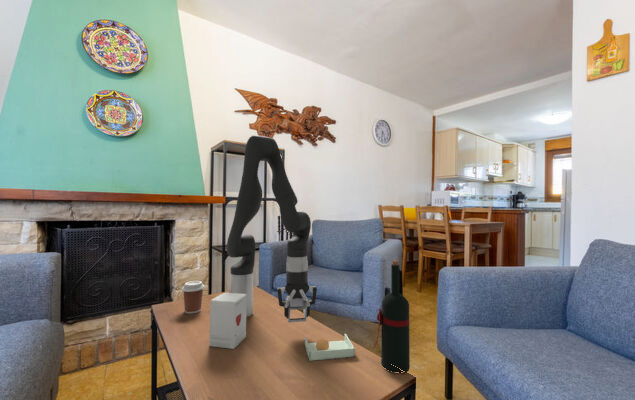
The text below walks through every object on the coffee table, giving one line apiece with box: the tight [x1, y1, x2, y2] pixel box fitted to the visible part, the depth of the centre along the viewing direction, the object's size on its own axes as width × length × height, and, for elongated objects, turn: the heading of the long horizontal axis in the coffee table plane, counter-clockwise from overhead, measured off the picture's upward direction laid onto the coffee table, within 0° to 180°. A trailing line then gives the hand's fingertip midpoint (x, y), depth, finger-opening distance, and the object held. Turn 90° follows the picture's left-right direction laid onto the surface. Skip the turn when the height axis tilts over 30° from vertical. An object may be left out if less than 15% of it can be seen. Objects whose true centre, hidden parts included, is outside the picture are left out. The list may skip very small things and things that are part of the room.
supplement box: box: [208, 292, 247, 350], centre depth 95 cm, size 9×9×15 cm
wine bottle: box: [373, 259, 411, 373], centre depth 81 cm, size 8×10×30 cm
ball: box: [315, 337, 329, 351], centre depth 88 cm, size 4×4×4 cm
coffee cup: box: [181, 280, 206, 314], centre depth 122 cm, size 9×9×12 cm
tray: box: [304, 333, 356, 362], centre depth 89 cm, size 10×14×2 cm
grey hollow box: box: [287, 293, 307, 323], centre depth 99 cm, size 6×6×7 cm
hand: (296, 316), depth 98 cm, fingers closed on grey hollow box, 6 cm apart
